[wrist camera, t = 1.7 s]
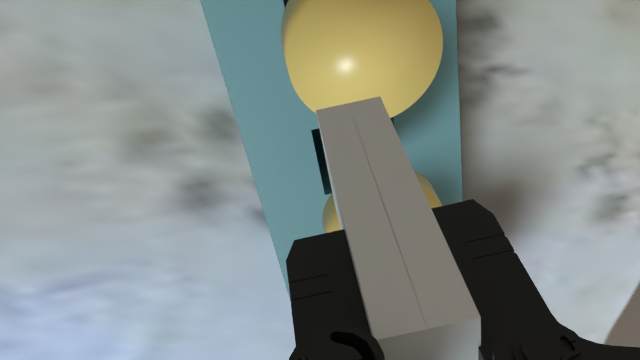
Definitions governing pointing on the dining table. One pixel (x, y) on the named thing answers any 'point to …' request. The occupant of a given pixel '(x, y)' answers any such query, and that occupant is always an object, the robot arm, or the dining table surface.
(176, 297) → the dining table surface
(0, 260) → the dining table surface
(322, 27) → the plunger
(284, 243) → the mount
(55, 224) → the dining table surface
